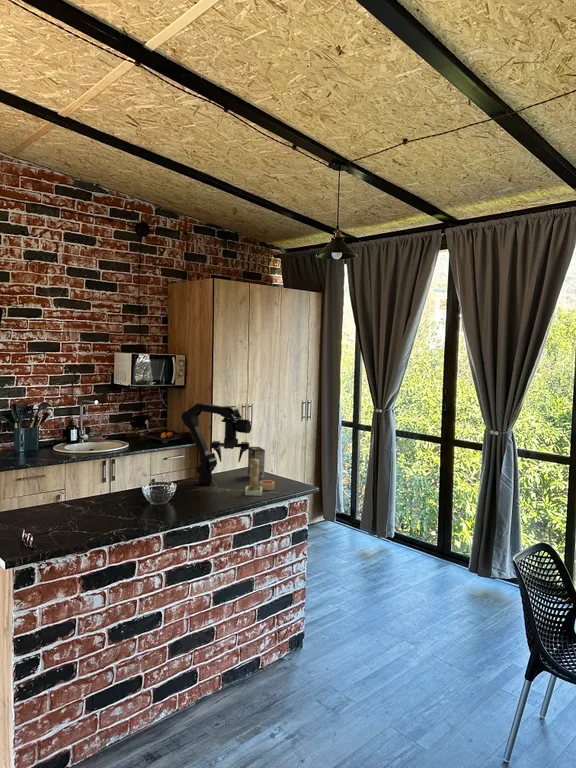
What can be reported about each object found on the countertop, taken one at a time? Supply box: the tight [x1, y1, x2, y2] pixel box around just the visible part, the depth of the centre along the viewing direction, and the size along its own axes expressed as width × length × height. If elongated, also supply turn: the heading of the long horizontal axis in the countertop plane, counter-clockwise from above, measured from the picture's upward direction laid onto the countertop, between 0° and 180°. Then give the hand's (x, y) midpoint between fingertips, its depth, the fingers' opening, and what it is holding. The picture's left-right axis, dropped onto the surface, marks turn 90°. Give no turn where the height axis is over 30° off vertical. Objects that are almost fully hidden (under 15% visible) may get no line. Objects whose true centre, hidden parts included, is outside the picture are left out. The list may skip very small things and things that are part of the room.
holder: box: [258, 479, 276, 491], centre depth 269 cm, size 8×8×4 cm
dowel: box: [249, 459, 259, 491], centre depth 259 cm, size 4×4×16 cm
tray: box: [244, 485, 263, 497], centre depth 260 cm, size 8×8×3 cm
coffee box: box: [247, 446, 266, 480], centre depth 291 cm, size 9×6×16 cm
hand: (229, 462), depth 268 cm, fingers open, 9 cm apart
